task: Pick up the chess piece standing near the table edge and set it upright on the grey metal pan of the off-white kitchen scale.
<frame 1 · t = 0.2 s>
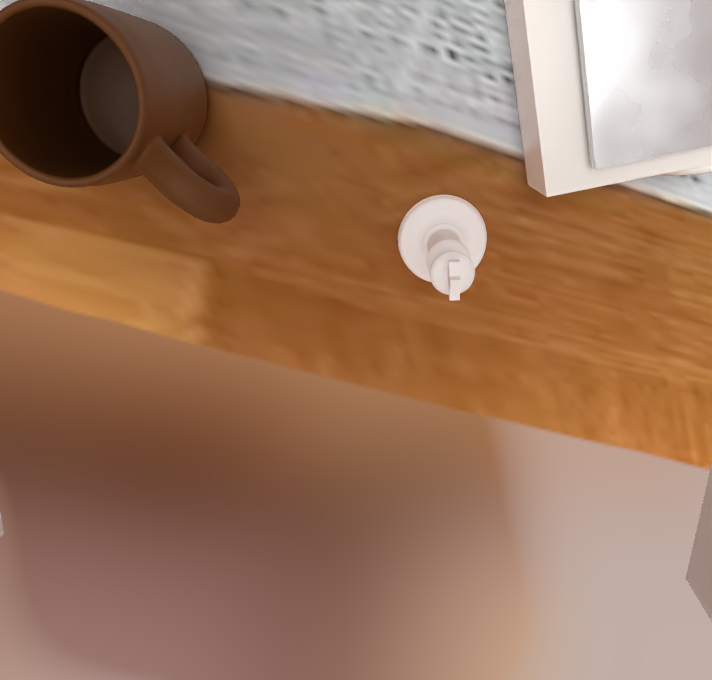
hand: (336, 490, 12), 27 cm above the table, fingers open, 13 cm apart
mug: (177, 124, 36), on the table
scale: (674, 8, 32), on the table
chess piece: (441, 238, 37), on the table
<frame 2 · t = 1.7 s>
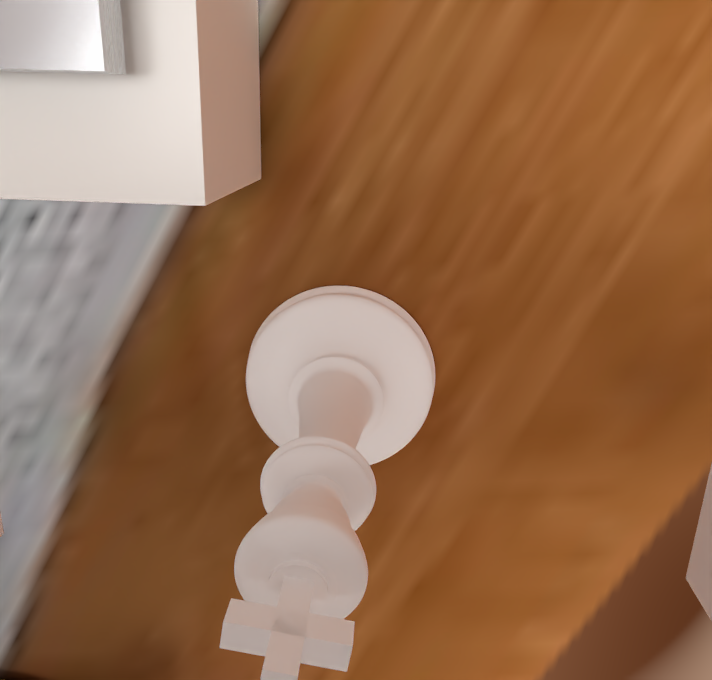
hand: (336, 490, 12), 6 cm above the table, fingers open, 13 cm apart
chess piece: (341, 373, 18), on the table
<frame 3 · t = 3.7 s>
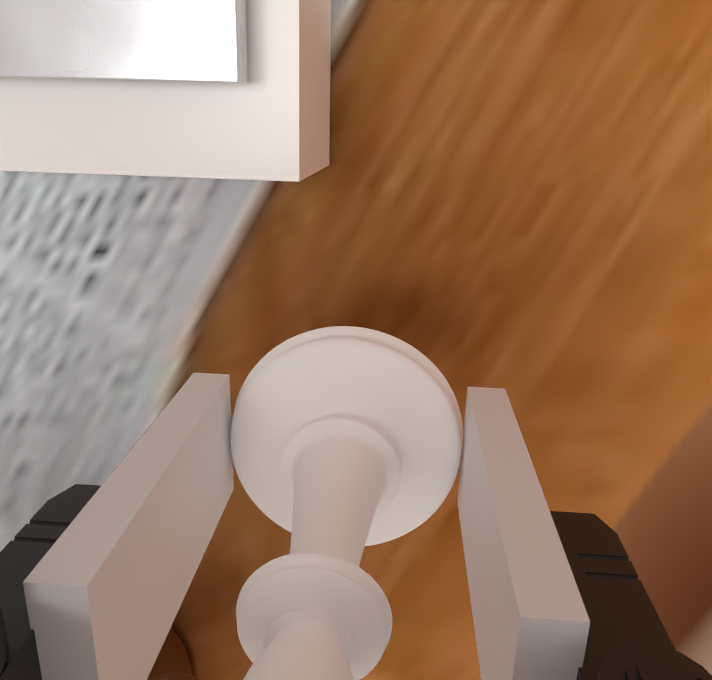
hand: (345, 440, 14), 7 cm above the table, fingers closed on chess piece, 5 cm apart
mug: (147, 630, 26), on the table
chess piece: (347, 430, 14), point 7 cm above the table, touching gripper
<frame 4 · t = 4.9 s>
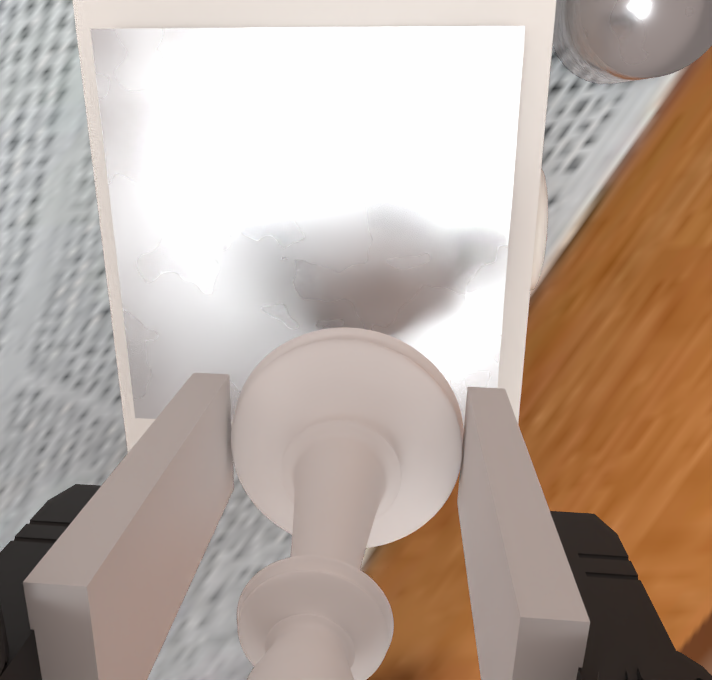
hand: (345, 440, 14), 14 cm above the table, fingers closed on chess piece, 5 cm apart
scale: (330, 215, 26), on the table
chess piece: (348, 431, 14), point 13 cm above the table, touching gripper
pan: (309, 242, 20), point 6 cm above the table, slide at -0.3 cm
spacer: (613, 16, 23), on the table
when the fingers open (8 cm above the table, at t = 6.4 s): chess piece drops 1 cm, resting on pan.
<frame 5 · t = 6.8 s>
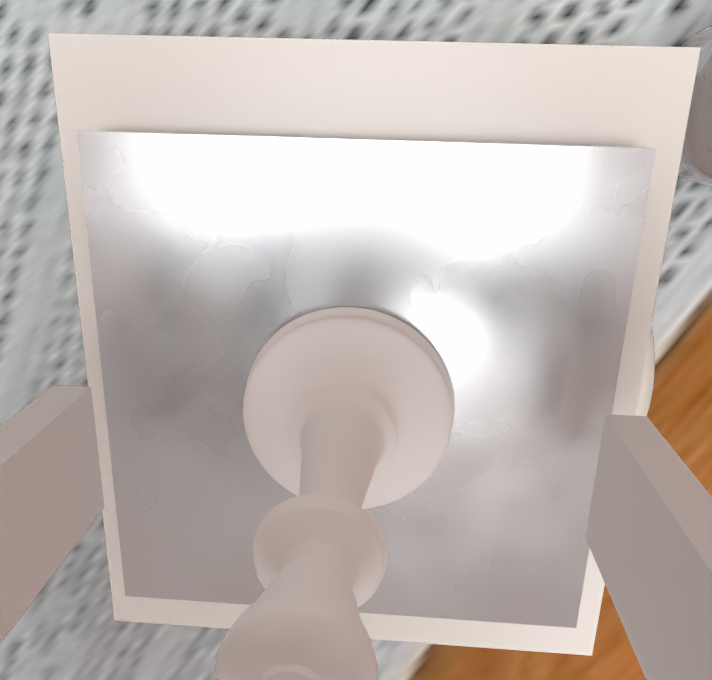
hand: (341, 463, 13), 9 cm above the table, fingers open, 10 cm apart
scale: (366, 325, 22), on the table
chess piece: (349, 403, 16), point 6 cm above the table, touching pan
pan: (353, 398, 16), point 6 cm above the table, slide at -0.4 cm, touching chess piece
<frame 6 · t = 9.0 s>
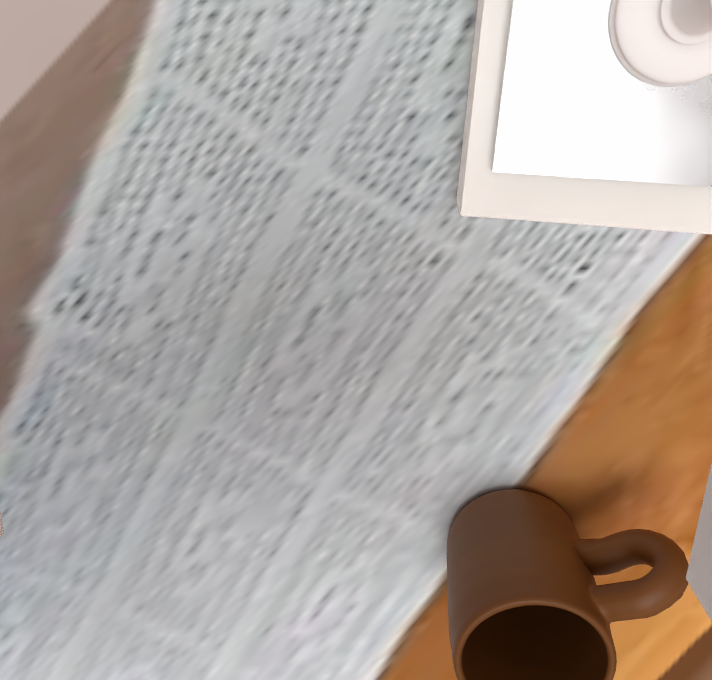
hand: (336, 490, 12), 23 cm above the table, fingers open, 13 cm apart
mug: (543, 520, 39), on the table
scale: (631, 32, 30), on the table
chess piece: (677, 14, 24), point 6 cm above the table, touching pan
pan: (677, 14, 24), point 6 cm above the table, slide at -0.4 cm, touching chess piece
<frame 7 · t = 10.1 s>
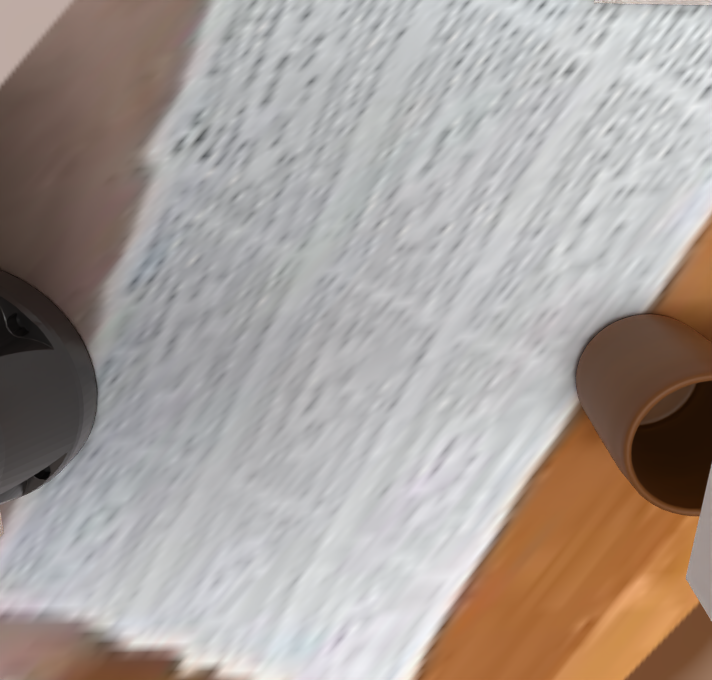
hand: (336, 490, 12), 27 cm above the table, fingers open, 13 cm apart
mug: (670, 350, 38), on the table
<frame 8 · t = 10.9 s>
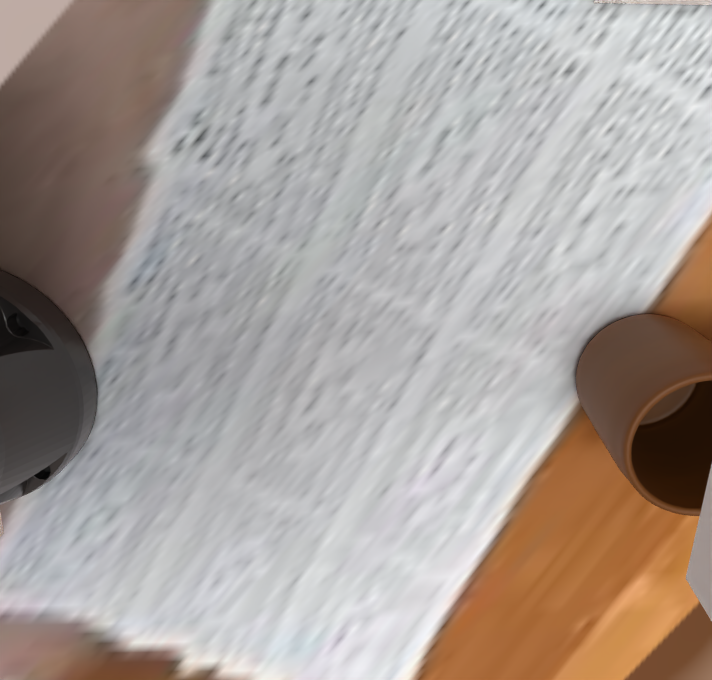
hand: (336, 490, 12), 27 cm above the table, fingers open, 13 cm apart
mug: (670, 349, 38), on the table
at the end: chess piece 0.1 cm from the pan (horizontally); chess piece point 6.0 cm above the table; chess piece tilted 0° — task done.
